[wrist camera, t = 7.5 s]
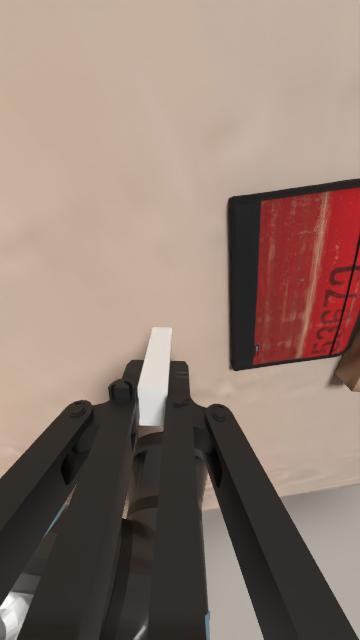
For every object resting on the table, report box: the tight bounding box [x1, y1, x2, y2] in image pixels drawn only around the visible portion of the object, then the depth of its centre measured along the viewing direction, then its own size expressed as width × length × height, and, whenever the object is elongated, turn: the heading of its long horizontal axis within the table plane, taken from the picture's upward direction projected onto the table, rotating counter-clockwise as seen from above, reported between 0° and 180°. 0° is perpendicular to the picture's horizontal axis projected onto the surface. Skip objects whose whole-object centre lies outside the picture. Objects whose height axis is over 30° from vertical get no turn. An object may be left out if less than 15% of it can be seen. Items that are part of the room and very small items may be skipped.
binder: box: [229, 179, 360, 371], centre depth 24 cm, size 16×2×21 cm
